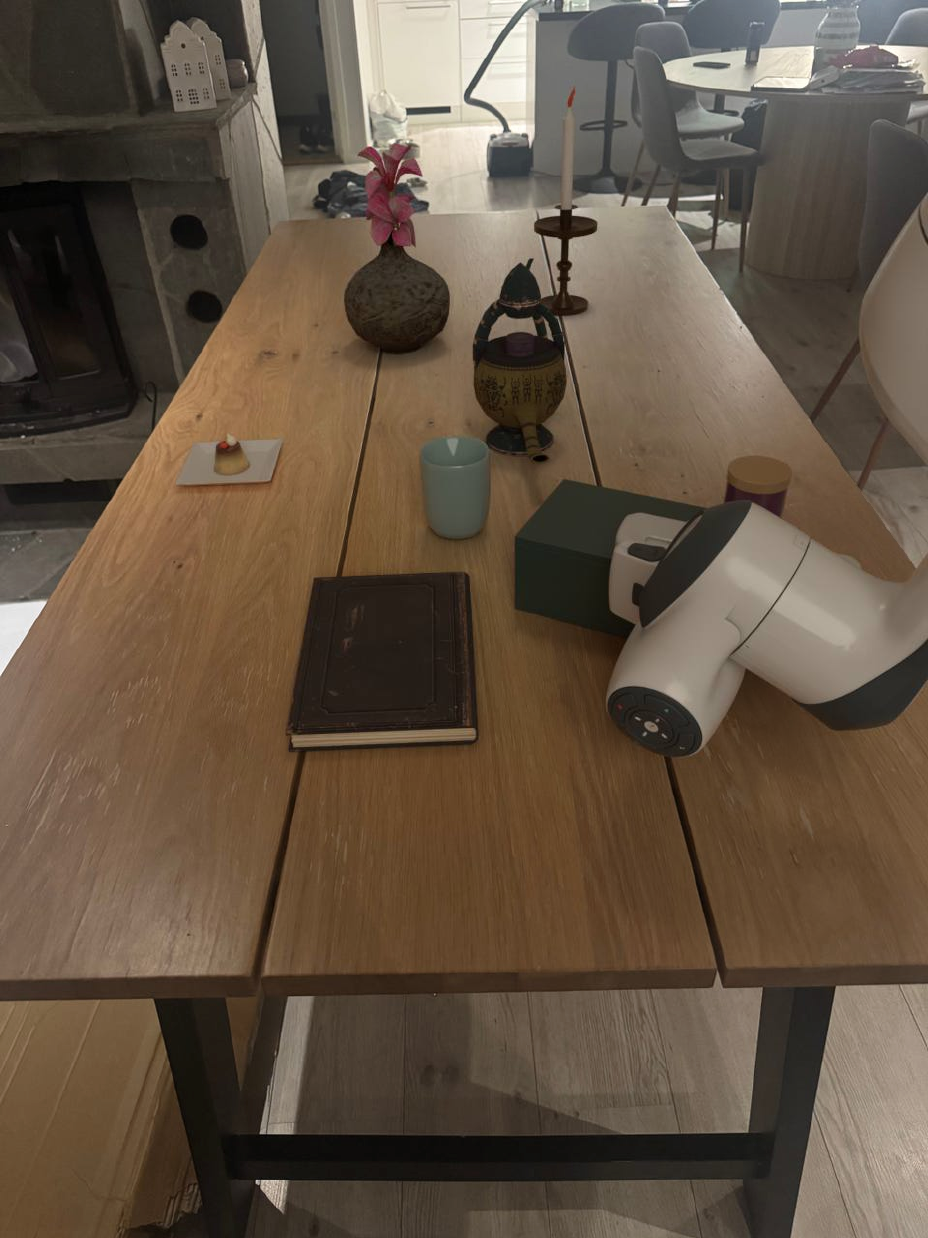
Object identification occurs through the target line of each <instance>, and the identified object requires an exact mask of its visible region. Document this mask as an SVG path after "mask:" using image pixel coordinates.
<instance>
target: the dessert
mask: <svg viewBox="0 0 928 1238" xmlns="http://www.w3.org/2000/svg"><path fill="white" fill-rule="evenodd" d="M283 441H284V439H283V438H264V439H263V438H262V439H237V437H236V436H235V435H232V434H229V433H227V434H226V436H225V437H224V439H223V440H216V441H215V440H212V441H211V440H210V441H194V442H193V443H192V446H191V448H190V450H189V452H188V454H187V456H186V458H185V460H184V463H183V464H182V466H181V468H180V470H179V473H178V475H177V477H176V479H175V481H174V485H175V486H183V487H184V486H187V487H199V486H201V487H202V486H226V485H227V486H228V485H249V484H251V485H253V484H264V483H267V482H270V481H272V478H273V477H272V476H273V474H274V472H275V471H274V470H275V467H276V464H277V461H278V457H279V454H280V450H281V447H282V444H283Z"/></svg>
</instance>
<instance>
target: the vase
mask: <svg viewBox="0 0 928 1238" xmlns="http://www.w3.org/2000/svg"><path fill="white" fill-rule="evenodd" d="M412 147H413V146H412V145H411V144H408V145H407V146H405V145H404V144H400V143H397V142H393V143H392V144H391V147H390V149H389V153H386V152H384V151H382V154H381V155H380V153H379V152H378V150H377V149H375V148H374V147H373V146H372V145H371V146H366V147H365V148H364V149H362V150H360V152H358V153H357V157H361V158H364V159H366V160H368V161H370V162H371V163H372V164H374V167H373V168H372V170H370V171H369V172H368V173H367V174H366V176H365V179H364V186H365V192H366V197H367V199H368V200H367V202H366V210H365V217H366V218H365V221H370V220H371V222H370V224H371V225H370V237H371V238H372V240H373V242H374V243H375V245H376V246H377V247H380V249H379V252H378V254H377V255H376V256H375V257H374V258H373V259H372V260H370V261H369V262H366V264H364V265H363V266H362V267H360V268H359V269H358V270H357V271H356V272H355V273H354V275H353V276H352V277H351V278H350V280H349V282H348V283H347V285H346V287H345V289H344V295H343V296H344V297H343V303H344V310H345V315H346V319H347V321H348V323H349V325H350V326H351V328H352V330H353V331H354V333H355V335H356V336H357V337H359V338H360V339H362V340H364V341H365V342H367V343H369V344H371V345H372V346H374V347H377V348H378V349H379V348H380V350H381V351H382V352H384V353H385V354H389V355H404V354H410V353H414V352H416V351H418V350H420V349H421V347H422V346H423V345H424V344H426V343H428V342H430V341H431V340H434V338H436V337H437V336H438V335H439V334H440V333H442V332H443V331H444V330H445V327H446V324H447V322H448V319H449V315H450V306H451V294H450V289H449V285H448V283H447V282H446V280H445V279H444V278H443V276H442V275H441V274H440V273H438V272H437V270H435V269H434V268H433V267H431V266H430V265H428V264H426V263H424V262H422V261H420V260H418V259H416V258H413V257H412V256H410V255H409V254H408V253H407V251H406V249H405V247H409V248H410V247H412V246H413V247H414V248H416V247H417V243H416V231H415V225H414V222H413V220H412V219H411V217H412V216H413V214H414V212H415V209H414V207H413V206H412V205H411V204H410V201H412V200H415V199H417V196H415V195H412V194H407V193H403V192H398V193H397V194H395V192H396V191H395V190H396V188H397V185H398V183H399V181H400V179H401V177H403V176H404V175H413V176H418V177H422V178H423V173H422V170H421V168H420V165H419V163H418V161H417V159H416V158H415V157H412V156H410V157H406V159H404V160H403V158H404V156H405V155H406V154H407V153H408V152H409V151H411V148H412ZM402 160H403V161H402ZM399 165H400V167H399Z"/></svg>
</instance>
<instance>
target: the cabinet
mask: <svg viewBox="0 0 928 1238" xmlns="http://www.w3.org/2000/svg"><path fill="white" fill-rule="evenodd" d="M707 508H708V507H704V506H699V505H695V504H689V503H685V502H680V501H675V500H670V499H664V498H659V497H655V496H651V495H646V494H640V493H635V492H632V491H625V490H621V489H617V488H611V487H605V486H601V485H595V484H590V483H585V482H581V481H575V480H572V479H571V480H570V479H565V478H564V479H562V480H561V481H560V483H559V484H558V485H557V486H556V487H555V489H554V490H553V491H552V492H551V493H550V494H549V496H548V497H546V499H545V500H544V501H543V502H542V504H541V505H540V506H539V507H538V508H537V510H536V511H535V512H534V513H533V514H532V515H531V517H530V518H528V520H527V521H526V522H525V524H523V526H522V527H521V528H520V529H519V531H518V532H517V533H516V534H515V535H514V609H515V610H519V611H523V612H526V613H529V614H530V613H531V614H534V615H537V616H541V617H544V618H549V619H553V620H556V621H560V622H564V623H567V624H571V625H575V626H580V627H583V628H587V629H590V630H593V631H598V632H600V633H601V632H602V633H604V634H609V635H612V636H616V637H620V638H624V639H628V637H629V636H630V634H631V632H632V630H633V629H634V627H635V624H633V623H632V622H630V621H628V620H626V619H624V618H622V617H620V616H618V615H616V614H614V613H613V612H612V611H611V610H610V606H609V574H610V566H611V561H612V556H613V552H614V549H615V541H616V535H617V532H618V529H619V527H620V525H621V523H622V522H623V520H624V519H625V517H626V516H628V515H630V514H634V513H645V514H650V515H654V516H659V517H664V518H669V519H674V520H679V521H683V522H687V521H688V520H690V519H691V518H692V517H693V516H694V515H695V514H696V513H698V512H699V511H701V510H704V509H707Z"/></svg>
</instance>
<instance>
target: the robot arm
mask: <svg viewBox="0 0 928 1238" xmlns="http://www.w3.org/2000/svg"><path fill="white" fill-rule="evenodd" d="M859 313H860V314H859V323H858V325H859V326H858V340H859V348H860V354H861V359H862V360H861V361H862V364H863V367H864V372H865V375H866V378H867V380H868V383H869V385H870V388H871V390H872V392H873V395H874V397H875V399H876V401H877V403H878V405H879V406H880V408H881V410H882V411H883V413H884V414H885V417H886V418H887V419H888V421H889V422H890V423H891V425H892V426H893V427H894V429H896V431H897V432H898V433H899V434H900V435H901V437H902V438H904V440H905V441H906V443H908V444H909V446H910V447H911V448H912V449H913V450H914V451H915V452H916V454H917V455H918V456H919V458H920V459H921V460H922V462H924V464H925V465H926V467H928V192H927V193H926V194H925V196H924V197H923V198H922V199H921V200H920V202H919V203H918V205H917V206H916V208H915V209H914V210H913V212H912V213H911V215H910V216H909V218H908V219H907V221H906V223H905V224H904V225H903V227H902V228H901V230H900V232H899V233H898V235H897V236H896V237H895V239H894V241H893V242H892V244H891V245H890V247H889V249H888V251H887V252H886V253H885V255H884V258H883V259H882V261H881V262H880V265H879V266H878V268H877V270H876V272H875V274H874V275H873V278H872V280H871V281H870V283H869V285H868V287H867V289H866V291H865V293H864V296H863V297H862V302H861V306H860V312H859ZM706 508H707V509H704V510H701V511H699V512H698V513H696V514H695V515H694V516H693V517H692V518H691V519H690V520H688V521H687V522H683V521H679V520H674V519H669V518H664V517H659V516H654V515H650V514H645V513H634V514H630V515H628V516H626V517H625V519H624V520H623V522H622V523H621V525H620V527H619V529H618V532H617V535H616V541H615V549H614V552H613V556H612V561H611V566H610V574H609V606H610V610H611V611H612V612H613V613H614V614H616V615H618V616H620V617H622V618H624V619H626V620H628V621H630V622H632V623H633V624H635V627H634V629H633V630H632V632H631V634H630V636H629V637H628V638H626V641H625V643H624V645H623V647H622V649H621V651H620V654H619V655H618V658H617V660H616V663H615V665H614V668H613V671H612V674H611V677H610V680H609V682H608V686H607V690H606V695H605V708H606V712H607V715H608V716H609V719H610V720H611V722H612V724H613V726H615V727H616V729H617V730H619V732H620V733H622V734H623V735H624V736H625V737H626V738H628V739H629V740H630V741H632V742H634V743H635V744H637V745H638V746H640V747H641V748H643V749H645V750H647V751H649V752H651V753H652V754H657V755H659V756H662V757H665V758H666V757H667V758H677V759H678V758H679V759H680V758H688V757H691V756H694V755H696V754H698V753H699V752H700V751H701V750H703V748H705V746H706V745H707V744H708V742H709V741H710V740H711V739H712V737H713V736H714V734H715V733H716V732H717V730H718V728H719V727H720V725H721V723H723V720H724V718H725V717H726V716H727V713H728V712H729V710H730V708H731V706H732V704H733V703H734V700H735V698H736V696H737V693H738V692H739V689H740V687H741V685H742V683H743V680H744V677H745V673H746V670H748V671H749V672H750V673H753V675H756V676H757V677H759V678H760V679H762V680H764V681H765V682H767V683H768V684H770V685H771V686H773V687H774V688H776V689H777V690H779V691H781V692H782V693H784V694H786V695H787V696H789V697H790V699H791V700H792V701H793V702H794V703H795V704H796V705H798V706H799V707H800V708H803V710H805V711H806V712H807V713H808V714H810V715H811V716H813V717H814V718H815V719H817V720H818V722H821V724H823V725H824V726H825V727H827V728H828V729H830V730H831V731H835V732H842V731H843V732H844V731H845V732H846V731H848V732H851V731H862V730H868V729H869V730H870V729H876V728H879V727H883V726H884V727H885V726H887V725H890V724H891V723H893V722H894V721H895V720H897V719H898V718H899V717H900V716H901V715H902V714H903V713H904V712H905V711H906V710H908V708H909V707H910V706H911V705H912V704H913V702H915V700H916V699H917V698H918V696H920V693H921V692H922V690H923V689H924V688H925V686H926V684H927V683H928V552H927V553H926V554H925V556H924V557H923V558H922V560H921V562H919V564H918V566H916V568H915V570H914V571H913V572H912V574H911V575H910V576H909V577H908V579H907V580H906V581H904V582H895V581H890V580H885V579H882V578H880V577H877V576H875V575H872V574H870V573H869V572H866V571H865V570H863V569H862V565H861V564H860V563H859V562H858V560H857V559H856V558H855V557H853V556H852V555H848V554H842V553H837V552H835V551H833V550H831V549H829V548H828V547H826V546H825V545H823V544H822V543H820V542H819V541H817V540H816V539H813V538H812V537H811V536H810V535H809V534H807V533H805V531H802V530H801V529H800V528H799V527H798V526H797V525H792V524H791V523H789V522H788V521H786V520H784V519H783V518H782V519H781V518H779V517H778V516H776V515H774V514H773V513H771V512H770V511H768V510H766V509H765V508H763V507H761V506H759V505H757V504H755V503H753V502H751V500H738V501H731V502H726V503H720V504H719V503H718V504H717V505H713V506H710V507H706Z"/></svg>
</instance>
